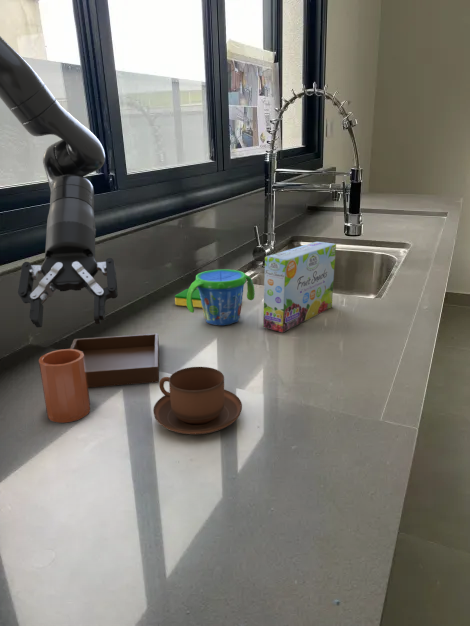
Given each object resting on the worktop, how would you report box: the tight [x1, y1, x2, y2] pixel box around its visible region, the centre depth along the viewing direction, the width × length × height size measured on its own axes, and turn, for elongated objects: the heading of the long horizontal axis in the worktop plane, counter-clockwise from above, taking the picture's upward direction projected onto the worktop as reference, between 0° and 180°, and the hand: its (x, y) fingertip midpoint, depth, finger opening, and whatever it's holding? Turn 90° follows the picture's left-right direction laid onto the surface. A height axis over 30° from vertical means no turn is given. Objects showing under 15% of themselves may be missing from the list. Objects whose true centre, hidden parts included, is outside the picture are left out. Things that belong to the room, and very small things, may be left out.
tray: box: [69, 332, 160, 389], centre depth 85 cm, size 15×15×3 cm
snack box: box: [262, 241, 337, 333], centre depth 106 cm, size 21×6×15 cm, turn 143°
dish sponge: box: [174, 287, 203, 309], centre depth 118 cm, size 7×14×2 cm, turn 69°
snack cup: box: [186, 268, 256, 326], centre depth 105 cm, size 16×10×10 cm
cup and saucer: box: [152, 366, 243, 435], centre depth 67 cm, size 12×12×6 cm
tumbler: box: [38, 348, 91, 424], centre depth 69 cm, size 6×6×8 cm
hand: (67, 323), depth 73 cm, fingers open, 8 cm apart
